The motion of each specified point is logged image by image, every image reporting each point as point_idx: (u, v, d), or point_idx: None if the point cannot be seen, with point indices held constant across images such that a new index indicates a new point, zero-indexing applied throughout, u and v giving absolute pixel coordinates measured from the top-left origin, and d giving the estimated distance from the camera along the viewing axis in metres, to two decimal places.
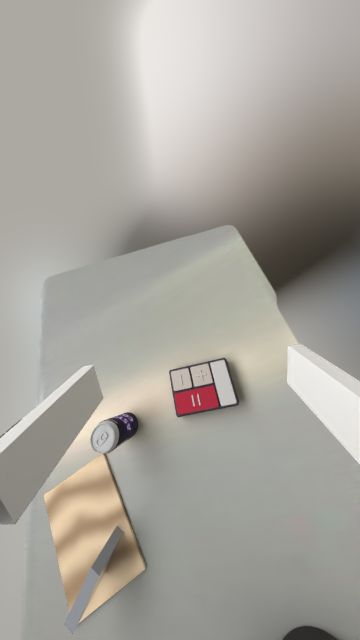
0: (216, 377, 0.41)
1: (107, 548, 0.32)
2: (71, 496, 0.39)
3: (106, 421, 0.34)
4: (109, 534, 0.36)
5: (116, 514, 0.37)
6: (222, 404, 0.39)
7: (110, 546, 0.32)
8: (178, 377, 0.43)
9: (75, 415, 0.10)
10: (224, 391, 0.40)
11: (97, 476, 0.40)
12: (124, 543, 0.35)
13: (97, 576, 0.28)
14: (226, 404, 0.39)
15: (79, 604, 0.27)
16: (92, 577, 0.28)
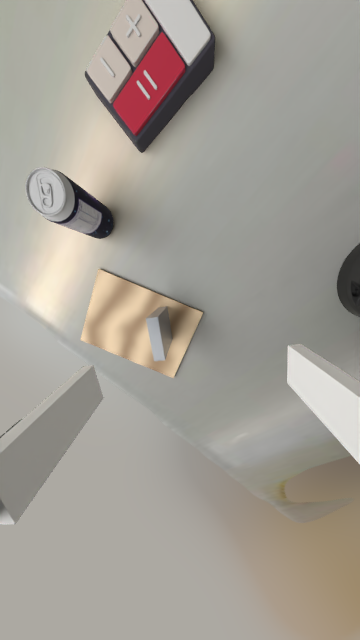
0: (160, 10, 0.21)
1: (156, 312, 0.29)
2: (103, 321, 0.36)
3: None
4: None
5: (151, 300, 0.34)
6: (189, 58, 0.22)
7: (159, 311, 0.30)
8: (102, 68, 0.23)
9: (75, 415, 0.10)
10: (184, 30, 0.21)
11: (111, 290, 0.34)
12: (174, 312, 0.34)
13: (156, 318, 0.25)
14: (194, 52, 0.22)
15: (156, 343, 0.26)
16: (152, 322, 0.25)
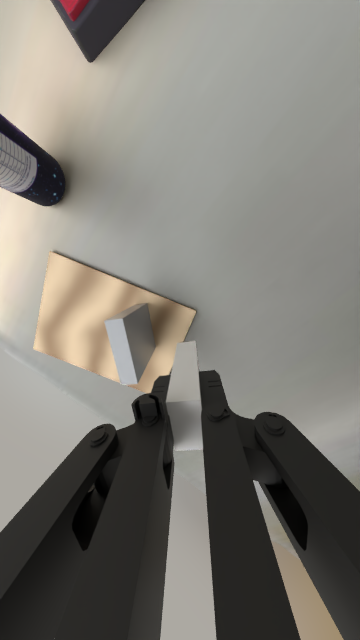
0: None
1: (127, 310, 0.20)
2: (61, 324, 0.26)
3: None
4: None
5: (125, 295, 0.24)
6: None
7: (132, 309, 0.20)
8: None
9: None
10: None
11: (69, 282, 0.24)
12: (157, 310, 0.25)
13: (120, 320, 0.16)
14: None
15: (122, 359, 0.17)
16: (115, 326, 0.16)
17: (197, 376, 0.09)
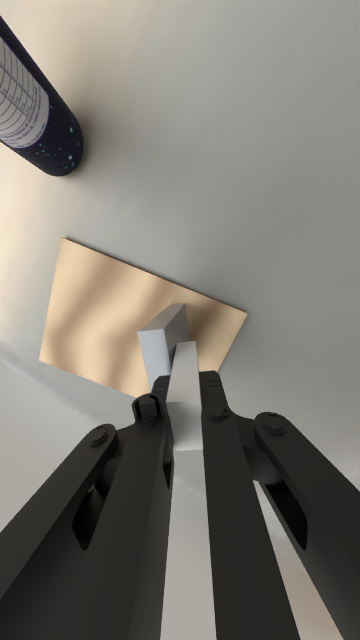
0: None
1: (164, 314, 0.15)
2: (75, 330, 0.21)
3: None
4: None
5: (157, 293, 0.19)
6: None
7: (170, 312, 0.15)
8: None
9: None
10: None
11: (85, 277, 0.19)
12: (197, 313, 0.19)
13: (160, 332, 0.11)
14: None
15: None
16: (152, 340, 0.11)
17: (197, 376, 0.09)
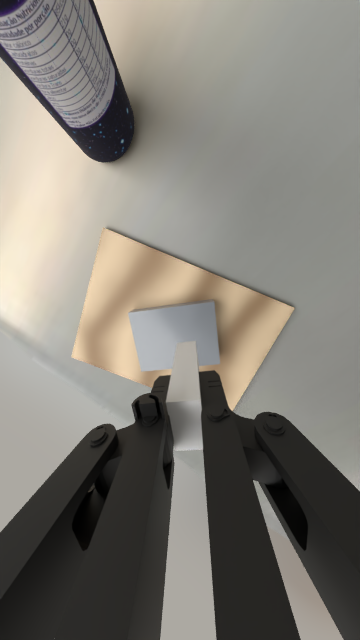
0: None
1: (167, 305, 0.19)
2: (111, 325, 0.20)
3: None
4: None
5: (201, 287, 0.18)
6: None
7: (173, 305, 0.18)
8: None
9: None
10: None
11: (126, 269, 0.18)
12: (241, 307, 0.19)
13: None
14: None
15: None
16: None
17: (197, 376, 0.09)
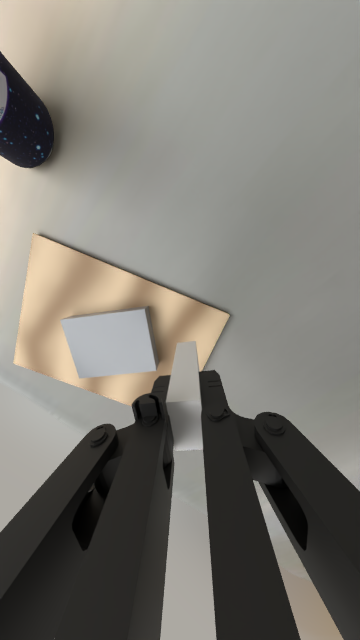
0: None
1: (102, 312, 0.18)
2: (51, 331, 0.20)
3: None
4: None
5: (137, 293, 0.18)
6: None
7: (107, 312, 0.18)
8: None
9: None
10: None
11: (60, 276, 0.18)
12: (178, 314, 0.19)
13: None
14: None
15: None
16: None
17: (197, 376, 0.09)
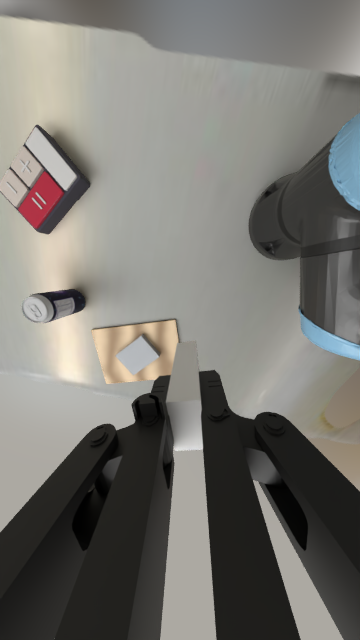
0: (41, 158, 0.32)
1: (128, 345, 0.44)
2: (113, 362, 0.46)
3: None
4: None
5: (136, 331, 0.43)
6: (64, 187, 0.33)
7: (129, 344, 0.43)
8: (8, 187, 0.34)
9: None
10: (59, 171, 0.33)
11: (106, 339, 0.44)
12: (155, 330, 0.43)
13: (115, 355, 0.44)
14: (67, 184, 0.33)
15: None
16: None
17: (197, 376, 0.09)
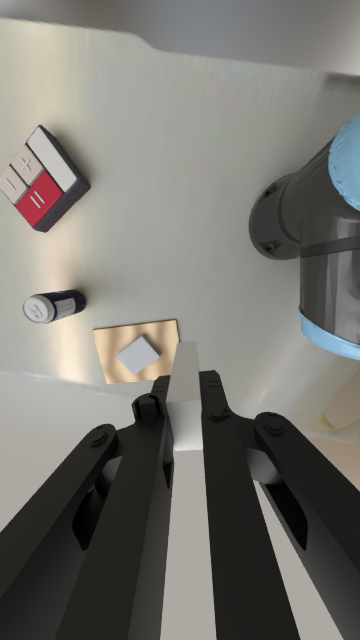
0: (43, 158, 0.32)
1: (128, 345, 0.44)
2: (114, 363, 0.46)
3: None
4: None
5: (137, 331, 0.43)
6: (64, 189, 0.33)
7: (130, 344, 0.43)
8: (7, 184, 0.34)
9: None
10: (59, 172, 0.33)
11: (107, 340, 0.44)
12: (156, 330, 0.43)
13: None
14: (67, 186, 0.33)
15: None
16: None
17: (197, 376, 0.09)
